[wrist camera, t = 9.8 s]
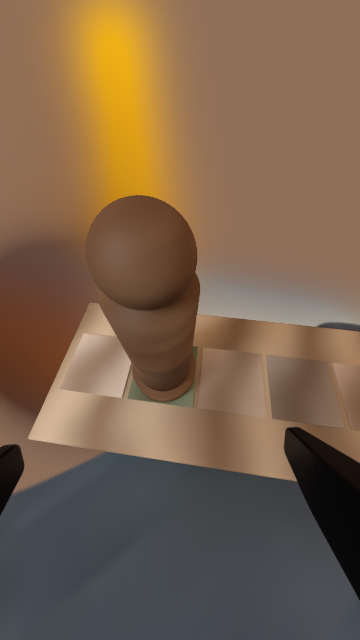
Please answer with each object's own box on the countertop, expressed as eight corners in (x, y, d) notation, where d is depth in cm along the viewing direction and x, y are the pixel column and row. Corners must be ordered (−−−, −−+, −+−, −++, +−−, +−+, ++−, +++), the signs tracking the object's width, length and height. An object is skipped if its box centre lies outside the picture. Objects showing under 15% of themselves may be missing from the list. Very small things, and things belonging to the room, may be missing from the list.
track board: (375, 341, 18) (387, 334, 17) (444, 503, 12) (470, 508, 11) (94, 310, 20) (89, 302, 19) (38, 439, 14) (26, 438, 13)
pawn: (203, 359, 16) (252, 183, 5) (177, 414, 14) (171, 305, 3) (155, 336, 17) (114, 152, 6) (123, 384, 15) (-14, 228, 4)
